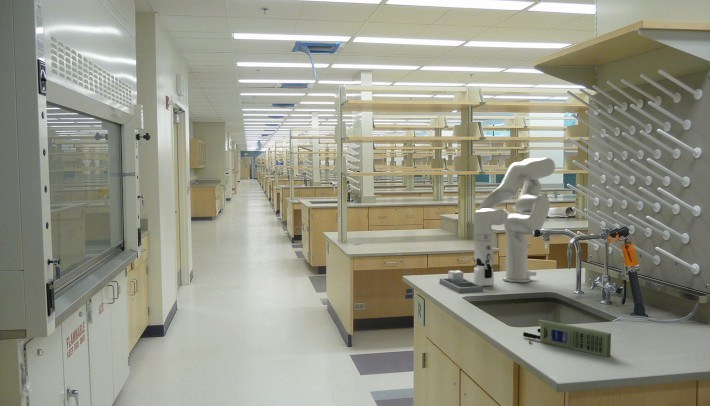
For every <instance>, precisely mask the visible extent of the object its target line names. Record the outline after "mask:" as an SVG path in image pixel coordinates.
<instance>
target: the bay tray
mask: <svg viewBox="0 0 710 406" xmlns="http://www.w3.org/2000/svg"><path fill="white" fill-rule="evenodd" d="M439 284H440V285H442V286H444V287H447V288H448V289H450V290H452V291H455V292H457V293H458V294H466V293H480V292H481V293H482V292H484V286H481V285H478V284H476V283H475V282H473V281H471V280H469V279H466V278H464V277H463V282H457V283H450V282H448V277H447V278H445V277H444V278H439Z"/></svg>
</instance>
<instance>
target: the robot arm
mask: <svg viewBox="0 0 710 406" xmlns="http://www.w3.org/2000/svg"><path fill="white" fill-rule="evenodd" d="M555 168H556V164H555V161H554V160H553V159H552V158H550V157H534V158H533V157H532V158H525V159H523V160H522V161H514V162H513V163H511V164H510V165H509V166H508V168H507V170H506V173H504V176H503V178H502V180H501V182H500V184H499V186H498V187H497V188H495V189H494V190H492V191H491V192H490V193H489V194H487V196H485V198H484V199H483V200H482V202H481V204H480V205H479V207H478V209H477V210H476V209H475V211H474V212H473V229H474V230H473V235H474V237H473V238H474V246H473V247H474V251H473V252H474V253H473V259H474V260H473V261H474V265H475V266H474V267H477V262H476V259H477V258H479V259H480V260H481V262H482V263H483V264H484V265H485V278H492V269H493V266H494V263H495V262H494V261H495V259H494V246H493V242H492V240H493V239H492V226H502V225H503V227H504V231H505V237H506V238H505V239H506V240H505V241H506V242H505V244H506V249H505V250H506V251H505V252H506V253H505V256H506V257H505V262H506V264H505V267H506V268H505V275H504V276H502V280H503V281H504V282H509V283H510V282H511V283H518V282H519V283H521V282H522V283H528V282H531V276H532V277H535V276H537V271H529V270H528V240H527V238H526V236H534V235H533V231H534V230H536V229H541V230H542V228H543V226H544V223H545V221H546V220H547V219H546V218H547V216H548V214H549V212H550V208H551V207H550V204H551V203H550V199H549V198H548V197H547V196H546V195H544V194H541V191H542V184H541V182H540V180H539V179H543V178H546V177H549V176H551V175H552V174H553V173H554V172H555V170H556V169H555ZM522 183H523V185H522ZM521 186H522V188H521ZM520 188H521V190H520V193H519V194H518V197H517V200H516V202H515V206H514V207H515V210H516V212H518V213H510V214H508V213H507V211H506V210H505V209H503V208H495V207H496V206H497V205H499V204H501V203H503V202H505V201H507V200H509V199H512V198H514V197H515V196H516V195H517V193H518V191H519V189H520ZM486 261H488V262H486ZM487 264H488V266H487ZM522 283H521V284H522Z"/></svg>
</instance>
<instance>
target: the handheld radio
mask: <svg viewBox="0 0 710 406" xmlns="http://www.w3.org/2000/svg"><path fill="white" fill-rule="evenodd" d="M537 321H538V324H537V326H538V327H540V328H537V330H536V331H537V333H539V335H537V334H533V333H530V332H524V331H523V334H522V336H523V337H527V338H529V339H535V340H539V343H541V344H542V343H543V344H547V345H551V346H556V347H560V348H564V349H569V350H574V351H578V352H583V353H588V354H592V355H597V356H600V357H601V356H602V357H605V358H610V356H611V347H612V345H611V344H612V343H611V342H612V333H611V332H608V331H602V330H597V329H592V328H586V327H581V326H576V325H571V324H566V323H560V322H554V321H549V320H546V319H545V320H543V319H537Z"/></svg>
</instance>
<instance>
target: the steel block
mask: <svg viewBox="0 0 710 406" xmlns="http://www.w3.org/2000/svg"><path fill="white" fill-rule="evenodd" d="M447 278H448V282H450V283H457V282H463V278H464V271H461V270H459V269H457V270H448V277H447Z"/></svg>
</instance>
